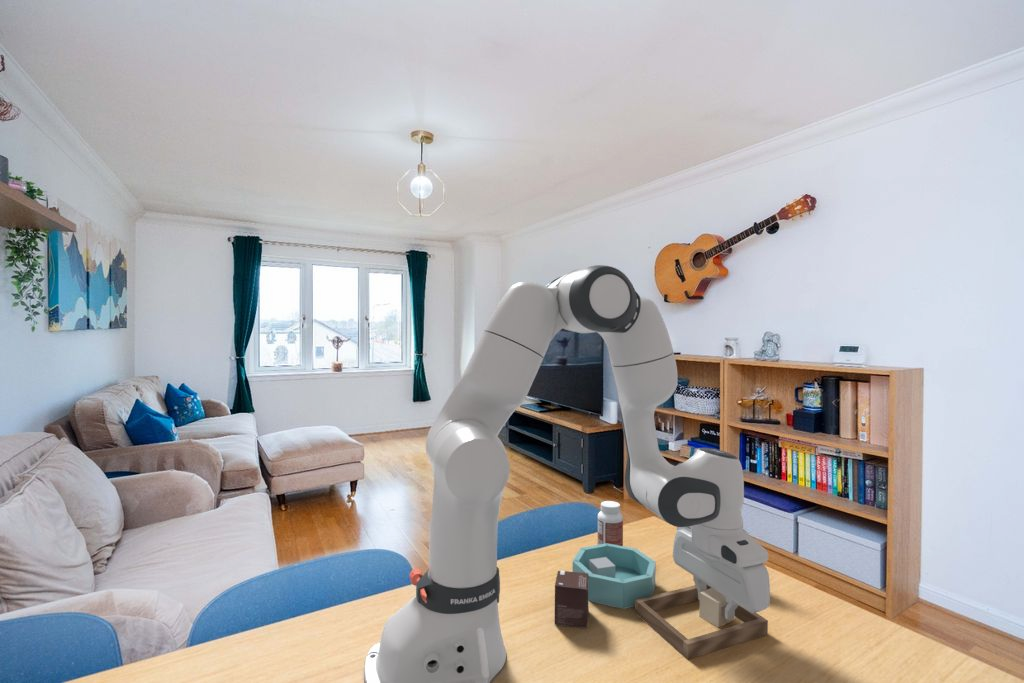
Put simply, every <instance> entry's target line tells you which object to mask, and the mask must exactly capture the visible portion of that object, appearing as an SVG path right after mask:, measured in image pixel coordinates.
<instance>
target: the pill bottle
mask: <svg viewBox="0 0 1024 683" xmlns="http://www.w3.org/2000/svg"><path fill="white" fill-rule="evenodd" d="M620 510H621V504H620V503H619V502H617V501H614V500H605V501H601V503H600V511H599V512H598V513H597V545H599V544H605V543H608V544H613V545H619V546H624V517H623V514H622V513H621V512H620Z"/></svg>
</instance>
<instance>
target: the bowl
mask: <svg viewBox="0 0 1024 683" xmlns="http://www.w3.org/2000/svg"><path fill="white" fill-rule="evenodd" d="M603 557H606V558H608V559H609V560H610V561H611V562H612V563H613V564H614V565H615V578H611V577H606V576H602V575H597V574H593V573H592V572H591V571H589V560H590V559H596V558H603ZM656 565H657V564H656V561H655V560H653V559H652V558H650V556H648V555H646V554H645V553H643V552H642V551H640V550H639V549H638V548H635V547H630V546H629V547H628V546H624V545H623V546H619V545H613V544H608V543H605V544H599V545H598V544H594V545H591V546H584V547H583V546H582V547H580V548H579V550H578V552H577V553H576V555H575V556H574V558H573V559H572V572H580V573H588V575H589V580H588V602H590V603H591V602H592V603H596V604H601V605H605V606H608V607H614V608H618V609H622V610H623V609H627V608H629V609H630V608H632V607H635V600H636V599H640V598H644V597H649V596H653V595H654V593H655V588H656V573H657V572H656V570H657V569H656Z"/></svg>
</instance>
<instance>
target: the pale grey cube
mask: <svg viewBox="0 0 1024 683" xmlns="http://www.w3.org/2000/svg"><path fill="white" fill-rule="evenodd" d="M589 571H591V572H592V573H593V574H597V575H602V576H606V577H611V578H615V565H614V564H613V563H612V562H611V561H610V560H609V559H608V558H606V557H603V558H596V559H590V560H589Z"/></svg>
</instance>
